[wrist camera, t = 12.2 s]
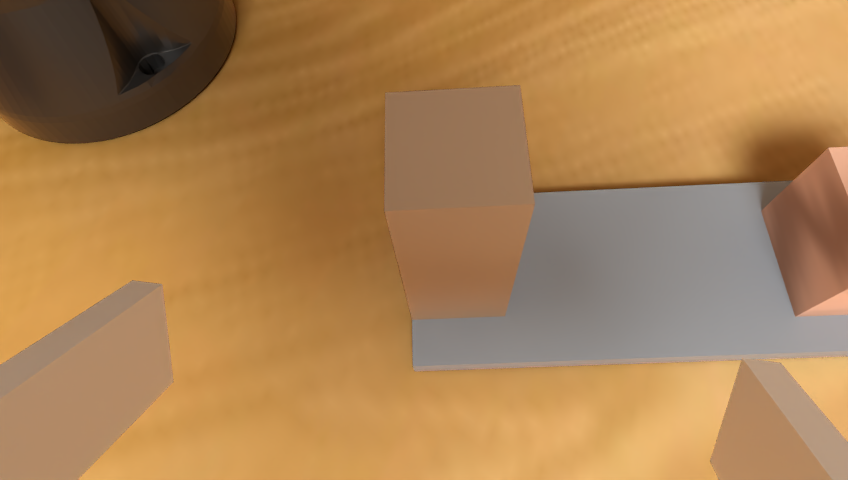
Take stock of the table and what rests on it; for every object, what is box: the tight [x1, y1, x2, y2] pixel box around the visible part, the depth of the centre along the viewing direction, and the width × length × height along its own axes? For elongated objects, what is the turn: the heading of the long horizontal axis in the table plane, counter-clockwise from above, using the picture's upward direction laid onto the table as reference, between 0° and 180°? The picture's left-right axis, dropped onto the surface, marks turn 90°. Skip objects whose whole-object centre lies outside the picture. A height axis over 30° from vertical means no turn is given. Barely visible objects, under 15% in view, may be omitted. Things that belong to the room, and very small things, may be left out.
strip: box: [384, 85, 848, 371], centre depth 20 cm, size 8×22×11 cm, turn 91°
